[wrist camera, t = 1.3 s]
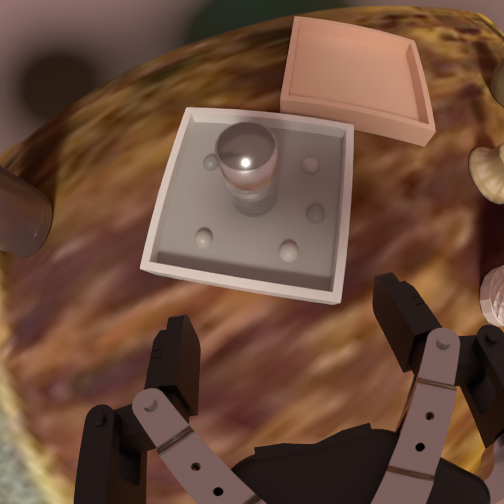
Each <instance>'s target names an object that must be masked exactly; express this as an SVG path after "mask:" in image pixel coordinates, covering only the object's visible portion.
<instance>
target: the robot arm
mask: <svg viewBox="0 0 504 504" xmlns="http://www.w3.org/2000/svg"><path fill="white" fill-rule="evenodd" d="M51 221H52V205H51V201H50V199H49V197H48V196H47V195H46V194H45V193H43V192H41V191H40V190H38V189H37V188H35V187H33V186H32V185H30V184H29V183H27V182H26V181H24V180H22V179H21V178H19V177H18V176H16V175H15V174H13V173H12V172H10V171H8V170H7V169H5V168H4V167H2V166H1V165H0V249H1V250H4V251H7V252H10V253H13V254H16V255H19V256H22V257H27V256H30V255H32V254H33V253H35V252H36V251H37V250H38V249H39V248H40V247H41V245H42V244H43V242H44V241H45V239H46V237H47V235H48V232H49V229H50V226H51ZM372 304H373V311H374V314H375V317H376V319H377V321H378V322H379V324H380V326H381V328H382V330H383V332H384V334H385V336H386V338H387V340H388V342H389V344H390V346H391V348H392V350H393V352H394V354H395V356H396V358H397V360H398V362H399V364H400V367H401V369H402V371H403V373H405V372H408V371H411V370H412V371H413V373H414V377H413V381H412V384H411V387H410V391H409V394H408V397H407V400H406V403H405V406H404V409H403V412H402V415H401V417H400V420H399V422H398V425H397V427H396V429H395V432H393V431H390V430H384V429H371V426H370V423H367V424H363V425H360V426H357V427H353V428H349V429H346V430H342V431H340V432H338V433H336V434H334V435H332V436H330V437H328V438H326V439H324V440H322V441H320V442H318V443H315V444H289V443H281V444H275V445H269V446H262V447H254V448H255V454H254V455H251V456H249V457H247V458H245V459H243V460H242V461H240V462H239V463H237V464H236V465H235V466H234V467H233V468H232V469H231V470H230V469H229V468H228V467H227V466H226V465H225V464H224V463H223V462H222V461H221V460H220V459H219V458H218V457H217V456H216V454H215V453H214V452H213V451H212V450H211V449H210V448H209V447H208V446H207V445H206V444H205V443H204V441H203V440H202V439H201V438H200V437H199V436H198V435H197V434H196V432H195V431H194V430H193V429H192V428H191V427H190V425H189V416H196V415H198V393H199V372H200V353H201V350H200V343H199V339H198V337H197V335H196V333H195V330H194V328H193V326H192V324H191V322H190V319H189V317H188V316H187V315H186V314H185V315H179V316H173V317H169V319H168V323H167V329H166V330H161V331H159V333H158V334H157V336H156V338H155V339H154V342H153V346H152V352H151V356H150V359H151V360H150V361H149V367H148V372H147V377H146V383H145V388H144V390H143V391H142V392H140V393H139V394H138V395H137V396H136V397H135V399H134V401H133V403H132V404H130V405H128V406H125V407H122V408H119V409H116V410H113V409H112V408H111V407H109V406H108V405H103V404H102V405H97V406H95V407H93V408H92V409H91V410H90V411H89V412H88V414H87V416H86V419H85V424H84V430H83V435H82V441H81V447H80V454H79V460H78V468H77V475H76V484H75V493H74V504H146V468H147V451H149V450H152V449H155V448H157V449H158V451H157V452H158V454H159V456H160V457H161V459H162V460H163V461H164V463H165V464H166V466H167V467H168V468H169V470H170V471H171V472H172V473H173V475H174V476H175V477H176V479H177V480H178V481H179V482H180V484H181V485H182V486H183V487H184V489H185V490H186V491H187V492H188V493H189V495H190V496H191V497H192V498H193V499H194V500H195V502H196V503H197V504H495V503H497V502H498V501H500V500H501V499H503V498H504V333H503V331H502V330H501V329H500V328H498V327H496V326H494V325H485V326H482V327H481V328H480V329H479V331H478V333H477V335H472V336H458V335H457V334H456V333H455V332H454V331H452V330H450V329H447V328H442V326H441V325H440V323H439V322H438V320H437V319H436V318H435V316H434V315H433V313H432V312H431V310H430V309H429V307H428V306H427V304H425V302H424V300H423V299H422V297H420V295H419V293H418V292H417V290H416V289H415V288H414V287H413V286H412V285H410V284H409V283H407V282H406V281H402V282H399V280H398V279H397V278H396V276H395V275H394V274H393V273H392V272H390V273H386V274H382V275H378V276H375V278H374V290H373V303H372ZM454 386H460V388H461V390H462V392H463V394H464V397H465V399H466V401H467V404H468V406H469V408H470V411H471V413H472V415H473V418H474V420H475V423H476V425H477V428H478V430H479V433H480V435H481V438H482V441H483V443H484V446H485V451H484V452H483V454H482V458H481V470H482V474H481V477H480V478H479V477H478V476H476V475H474V474H472V473H470V472H468V471H466V470H464V469H462V468H460V467H458V466H456V465H454V464H453V463H451V462H449V461H447V460H445V459H443V458H441V457H440V456H441V453H442V449H443V446H444V443H445V439H446V435H447V432H448V428H449V424H450V420H451V416H452V411H453V407H454V402H455V397H456V387H454Z"/></svg>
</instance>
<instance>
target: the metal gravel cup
mask: <svg viewBox="0 0 504 504" xmlns="http://www.w3.org/2000/svg"><path fill="white" fill-rule="evenodd" d="M215 155H216V158H217V161H218V164H219V167H220V169H221V172H222V175H223V177H224V180H225V183H226V185H227V188H228V191H229V194H230V196H231V199H232V202H233V204H234V206H235V208H236V209H237V210H238V211H239V212H240V213H242V214H244V215H246V216H250V217H259V216H263V215H265V214H267V213H268V212H270V211H271V210H272V209H273V207H274V206H275V204H276V202H277V197H278V146H277V139H276V137H275V135H274V133H273V132H272V131H271V130H270V129H269V128H268V127H266V126H264V125H262V124H260V123H257V122H250V121H246V122H239V123H236V124H233V125H231V126H229V127H227V128H226V129H225V130H224V131H222V133H221V134H220V135H219V136H218V138H217V140H216V143H215Z"/></svg>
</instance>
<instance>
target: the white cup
mask: <svg viewBox="0 0 504 504" xmlns="http://www.w3.org/2000/svg"><path fill="white" fill-rule="evenodd" d="M479 301H480V305H481V310H482V314H483V315H484V317H485V318H486V320H487V321H488V322H489V323H491V324H493V325H495V326H504V265H503V266H501V267H498V268H495V269H493V270H491V271H490V272H489V273H488V274H487V275H486V276H485V277H484V280H483V282H482V285H481V287H480V300H479Z"/></svg>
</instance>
